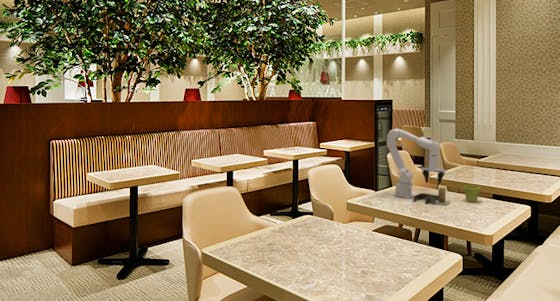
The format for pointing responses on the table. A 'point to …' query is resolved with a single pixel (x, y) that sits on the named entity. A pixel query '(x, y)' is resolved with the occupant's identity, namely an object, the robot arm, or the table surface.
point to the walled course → (428, 198)
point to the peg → (441, 195)
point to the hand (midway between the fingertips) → (433, 183)
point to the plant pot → (471, 193)
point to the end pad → (442, 203)
